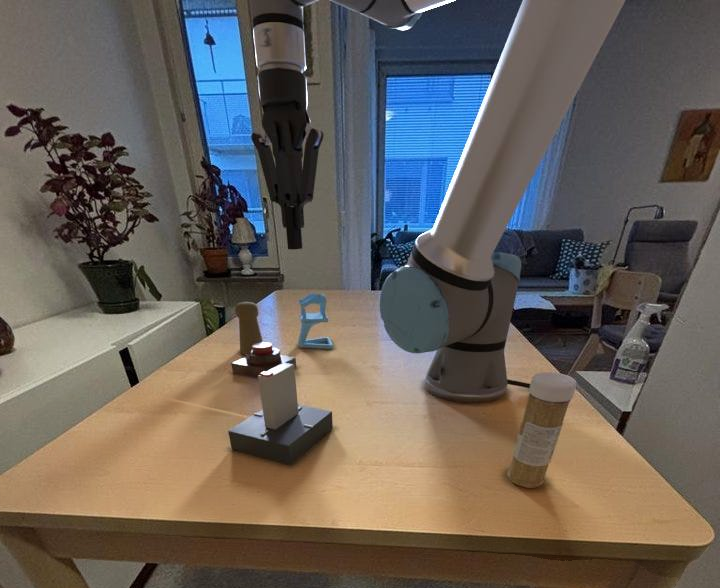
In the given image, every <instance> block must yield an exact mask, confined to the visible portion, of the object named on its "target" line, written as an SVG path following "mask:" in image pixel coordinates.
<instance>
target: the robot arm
mask: <svg viewBox="0 0 720 588" xmlns="http://www.w3.org/2000/svg"><path fill="white" fill-rule="evenodd" d="M329 1H330V2H332V3H335V4H337V5H339V6H342V7H344V8H346V9H348V10H350V11H353V12H356V13H358V14H360V15H362V16H364V17H367V18H369V19H371V20H373V21H375V22H377V23H379V24H381V25H382V26H384V27H386V28H388V29H390V30H391V29H396V30H399V31H407V30H409V29H411V28H412V27H414V25H415V24H416V22H417V21H418V20H419V19H420V17H421V16H422V15H423V12H425V11H428V10H431V9H434V8H437V7H440V6H443V5H446V4H449V3H451V2H454V1H455V0H329ZM316 2H319V0H249V4H250V5H249V6H250V14H251V23H252V32H253V33H252V34H253V43H254V54H255V63H256V67H257V68H258V70H259V72H258V74H257V82H258V83H257V85H258V94H259V102H260V106H261V108H262V118H261V127H260V129H259V130H258V131H257V132H252V133H251V134H250V139H251V142H252V143H253V145H254V146H255V149H256V151H257V154H258V158H259V161H260V165H261V168H262V173H263V176H264V181H265V185H266V188H267V192H268V195H269V196H268V197H269V199H270V201H271V202H272V203H275V204H278V205H279V207H280V214H281V224H282V227H283V228H284V229H285V231H286V233H285V234H286V242H287V250H302V249H303V237H302V229H303V228H305V214H304V212H305V211H304V207H305V205H307V204H308V203H312V202H313V199H314V194H315V193H314V192H315V184H316V176H317V167H318V158H319V157H318V156H319V150H320V147H321V146H322V145H321V144H322V142H323V139H324V137H325V136H324V135H325V134H324V132H323V131H322V130H319V129H317V128H316V127H315V126H314V125H312V123H311V118H310V116H309V113H308V104H309V100H308V83H307V82H308V81H307V76H306V75H305V74H304V72H305V71H306V70H307V63H306V62H307V61H306V43H305V42H306V41H305V24H304V7H307V6H310V5H311V4H315V3H316ZM625 2H626V0H522V1H521V4H520V6H519V9H518V12H517V14H516V16H515V18H514V22H513V23H512V27H511V28H510V32H509V34H508V37H507V40H506V42H505V43H504V47H503V49H502V52H501V55H500V57H499V60H498V62H497V65H496V68H495V69H494V72H493V75H492V77H491V80H490V83H489V85H488V88H487V90H486V92H485V95H484V97H483V100H482V103H481V105H480V107H479V109H478V112H477V116H476V117H475V120H474V123H473V126H472V129H471V130H470V133H469V136H468V138H467V140H466V143H465V146H464V148H463V151H462V153H461V156H460V158H459V161H458V164H457V165H456V169H455V171H454V174H453V176H452V179H451V181H450V184H449V186H448V189H447V191H446V194H445V197H444V199H443V202H442V203H441V207H440V209H439V212H438V215H437V217H436V220H435V223H434V224H433V227H432V228H431V229H429V230H428V231H426V232H424V233H421V234H420V235H418V236H417V238H416V239H415V242H414V244H413V247H412V249H411V253H410V255H409V257H408V260H407V263H406V265H403V266H400V267H398V268H397V269H395V270H394V271H392V272H391V273H390V274H389V275H388V276H387V277H386V279H385V280H384V282H383V284H382V287H381V290H380V293H379V313H380V318H381V320H382V322H383V327H384V330H385V332H386V333H387V335H388V337H389V339H390V340H391V341H392V342H393V344H395V345H396V346H397V347H399V348H400V349H401V350H403V351H405V352H407V353H411V354H425V353H430V352H432V353H433V352H435V354H434V356H433V359H432V360H431V363H430V364H429V367H428V370H427V371H426V374H425V378H424V379H425V381H424V387H425V388H424V389H425V390H426V391H427V392H428V393H430V394H431V395H433V396H435V397H436V398H439V399H442V400H446V401H450V402H456V403H461V404H486V403H491V402H496V401H498V400H500V399H503V397H505V396H506V393H507V389H508V385H509V386H515V387H520V388H526V389H529V388H530V384H531V383H528V382H523V381H519V380H514V379H508V375H507V374H508V373H507V365H506V358H505V349H506V343H507V338H508V333H509V329H510V325H511V320H512V315H513V311H514V306H515V302H516V296H517V293H518V288H519V285H520V283H521V271H522V260H521V258H520V257H519V256H518V255H515V254H512V253H507V252H500V251H499V252H497V251H495V250H496V248H497V246H498V244H499V242H500V240H501V239H502V236H503V235H504V233H505V231H506V229H507V227H508V225H509V223H510V222H511V220H512V218H513V216H514V214H515V212H516V210H517V208H518V206H519V204H520V202H521V201H522V198H523V196H524V195H525V193H526V191H527V189H528V188H529V185H530V183H531V181H532V180H533V178H534V175H535V174H536V172H537V170H538V168H539V166H540V164H541V163H542V160H543V159H544V156H545V155H546V153H547V151H548V149H549V148H550V145H551V144H552V141H553V139H554V137H555V136H556V134H557V132H558V130H559V128H560V126H561V124H562V122H563V120H564V118H565V116H566V115H567V113H568V110H569V109H570V107H571V105H572V104H573V102H574V100H575V98H576V96H577V94H578V91H579V90H580V88H581V86H582V84H583V83H584V80H585V78H586V76H587V75H588V73H589V71H590V69H591V67H592V65H593V63H594V61H595V59H596V58H597V55H598V54H599V52H600V50H601V48H602V46H603V44H604V43H605V41H606V38H607V37H608V34H609V33H610V31H611V29H612V27H613V25H614V23H615V21H616V19H617V17H618V16H619V14H620V12H621V10H622V8H623V6H624V4H625ZM304 141H305V143H304ZM303 144H304V148H303ZM270 145H271V146H270ZM303 149H304V150H303ZM303 151H304V152H303ZM302 159H303V161H302Z"/></svg>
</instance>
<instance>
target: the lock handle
mask: <svg viewBox="0 0 720 588" xmlns="http://www.w3.org/2000/svg"><path fill="white" fill-rule="evenodd" d="M295 369H296V368H294V364H289V363H282V364H280V365H278V366H276V367H274V368H272V369H270V370H268V371H266V372H265V371H263V372H261V373H259V375H258V378H257V380H258V386H259V394H260V400H261V409H262V410H263V415H264V422H265V427H266V428H271V429H275V430H276V429H277V428H279V427H280V426H282V425H283V424H284V423H286V422H287V421H289V420H290V419H291V418H293V417H294V416H296V415H297V414H298V413H299V412H298V404H299V403H298V401H299V400H298V391H297V380H296V379H297V378H296V370H295Z"/></svg>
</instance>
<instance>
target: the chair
mask: <svg viewBox="0 0 720 588" xmlns="http://www.w3.org/2000/svg"><path fill="white" fill-rule="evenodd" d="M298 302H299V305H300V309H301V311H300V313H298V315H299V319H300V323H301V327H300V333H299V336H298V341H297V345H298V348H301V349H323V350H324V349H325V350H333V349H334V345H333V342H332V340H331V338H330V337H328V336H326V337H325V336H323V337H317V338H309V339H307V338H308V335H309V332H310V330H311V328H313V326H314V325H317V324H320V323H329V317H328V315H327V314H326V308H327V302H328V301H327V296H326V295H325V294H324V293H319V294H318V293H311V294H308V295H306V296H304V297H303V298H298ZM309 305H318V306H319V312H314V313H309V312H308V313H307V311H306V307H307V306H309ZM324 342H327V344H326V343H324Z"/></svg>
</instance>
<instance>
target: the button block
mask: <svg viewBox="0 0 720 588" xmlns="http://www.w3.org/2000/svg"><path fill="white" fill-rule="evenodd" d="M272 350H273V353H271V354H267V355H256V354H253V348H252V349H250V350H247V352H246V355H245V356H244V357H242V358H240V359H238V360H235V361H232V362H231V363H230V364H231V369H232V373H233V374H235V375H242V376H246V377H253V378H257V379H258V375H259V373H261V372H263V371H265V372H266V371H268V370H270V369H272V368H274V367H276V366H278V365H280V364H282V363H289V364H294V368H295V369H296V368H297V358H296V357H294V356H290V355H289V356H288V355H283V354H282V355H281V349H279V348H277V347H273V346H272Z"/></svg>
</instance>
